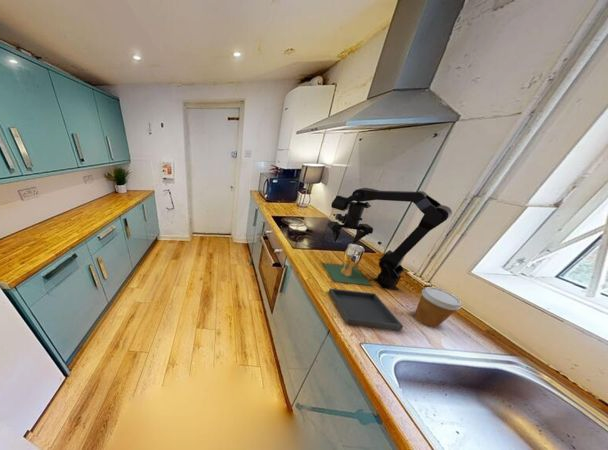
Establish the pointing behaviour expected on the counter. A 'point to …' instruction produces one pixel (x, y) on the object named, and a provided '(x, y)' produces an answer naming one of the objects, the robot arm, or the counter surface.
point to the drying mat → (337, 277)
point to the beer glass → (351, 259)
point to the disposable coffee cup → (436, 306)
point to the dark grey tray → (364, 310)
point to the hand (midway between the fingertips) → (344, 242)
